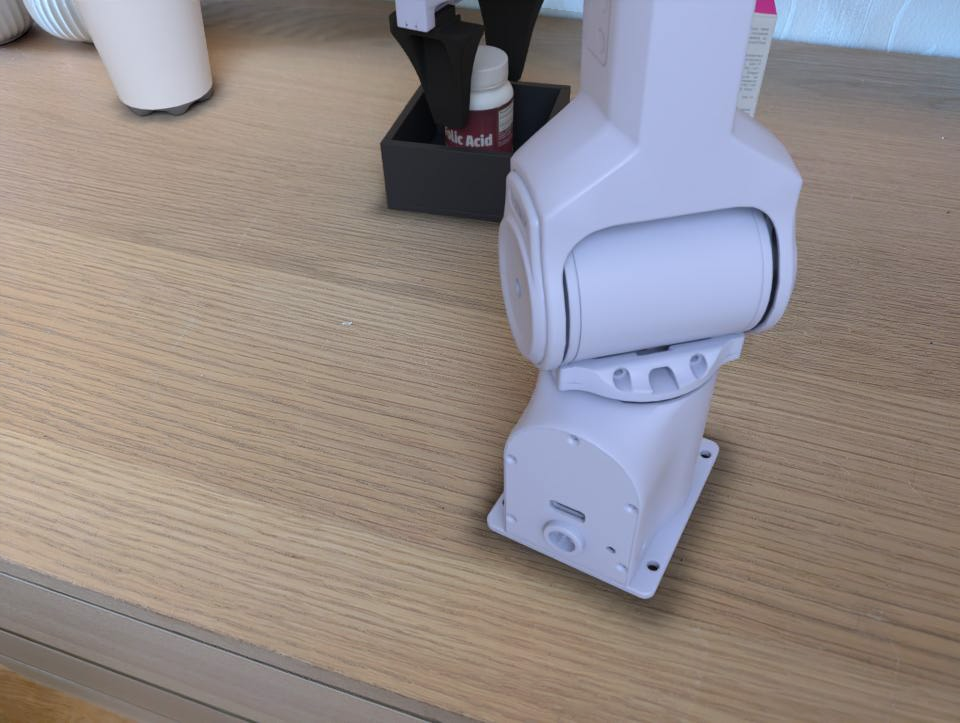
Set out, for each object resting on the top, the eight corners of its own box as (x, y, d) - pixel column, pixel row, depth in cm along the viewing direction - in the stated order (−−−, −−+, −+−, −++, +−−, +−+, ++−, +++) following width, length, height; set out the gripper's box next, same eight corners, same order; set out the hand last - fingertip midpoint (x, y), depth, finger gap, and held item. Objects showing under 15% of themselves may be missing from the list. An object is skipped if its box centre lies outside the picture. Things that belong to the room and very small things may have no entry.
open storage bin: (539, 227, 54) (541, 160, 51) (387, 208, 57) (379, 143, 53) (567, 148, 62) (570, 85, 58) (432, 134, 64) (427, 72, 61)
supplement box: (742, 179, 58) (779, 15, 50) (658, 172, 59) (680, 10, 51) (740, 139, 62) (774, -18, 54) (661, 133, 63) (683, -22, 55)
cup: (213, 125, 66) (167, -42, 57) (92, 128, 66) (28, -39, 58) (239, 72, 73) (202, -84, 65) (130, 75, 73) (79, -81, 65)
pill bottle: (436, 181, 58) (428, 66, 52) (463, 149, 61) (458, 37, 55) (498, 194, 57) (496, 77, 51) (522, 161, 60) (524, 47, 54)
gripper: (474, -163, 52) (480, 49, 61) (337, -104, 43) (368, 134, 52) (576, -153, 49) (566, 67, 59) (452, -89, 40) (464, 159, 49)
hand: (479, 100), depth 55 cm, fingers open, 7 cm apart
